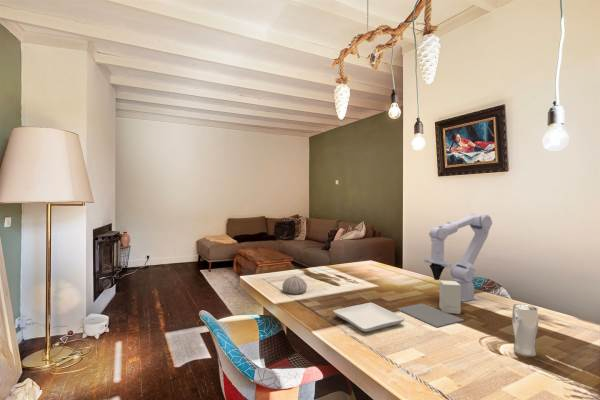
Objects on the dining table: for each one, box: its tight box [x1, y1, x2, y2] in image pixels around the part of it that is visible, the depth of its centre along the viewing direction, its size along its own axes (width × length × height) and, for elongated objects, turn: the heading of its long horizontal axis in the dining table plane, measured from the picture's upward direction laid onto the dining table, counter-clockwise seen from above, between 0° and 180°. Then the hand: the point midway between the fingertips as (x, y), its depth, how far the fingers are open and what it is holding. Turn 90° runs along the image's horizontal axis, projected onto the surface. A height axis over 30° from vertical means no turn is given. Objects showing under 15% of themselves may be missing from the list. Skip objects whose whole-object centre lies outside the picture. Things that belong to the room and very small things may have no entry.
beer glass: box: [511, 303, 539, 358], centre depth 105 cm, size 7×7×15 cm
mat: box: [396, 303, 465, 329], centre depth 137 cm, size 16×22×1 cm
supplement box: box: [438, 279, 462, 315], centre depth 143 cm, size 7×7×13 cm
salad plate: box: [332, 302, 405, 333], centre depth 130 cm, size 21×21×3 cm
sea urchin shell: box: [281, 275, 308, 295], centre depth 170 cm, size 13×14×8 cm
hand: (436, 279), depth 156 cm, fingers closed
